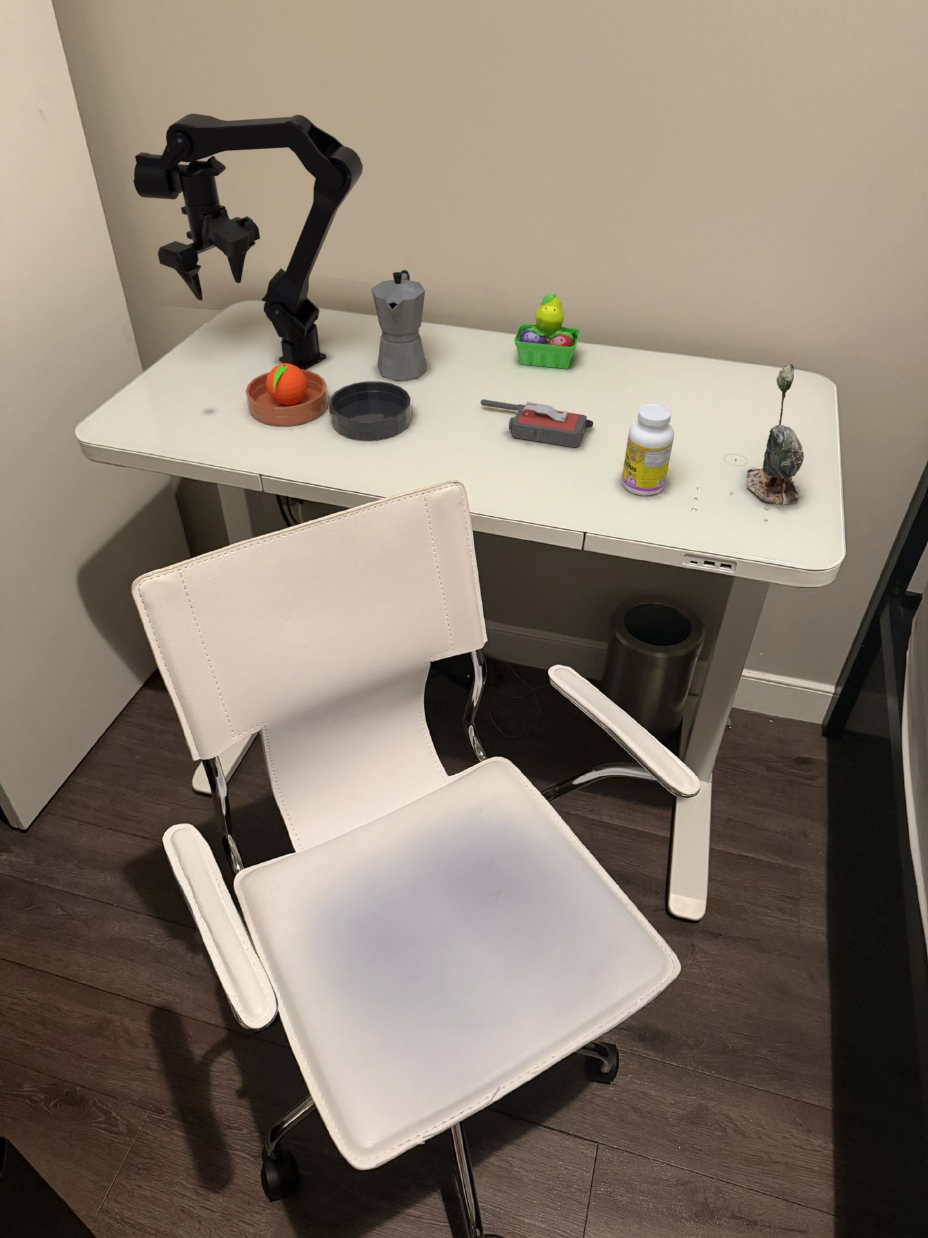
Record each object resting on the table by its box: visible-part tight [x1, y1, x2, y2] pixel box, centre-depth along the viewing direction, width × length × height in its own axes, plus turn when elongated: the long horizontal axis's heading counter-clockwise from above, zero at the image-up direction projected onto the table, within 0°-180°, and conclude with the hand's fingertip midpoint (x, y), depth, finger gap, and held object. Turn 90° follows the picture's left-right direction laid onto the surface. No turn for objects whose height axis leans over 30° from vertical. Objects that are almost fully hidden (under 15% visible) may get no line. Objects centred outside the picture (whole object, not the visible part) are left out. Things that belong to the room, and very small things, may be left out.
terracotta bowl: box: [245, 369, 329, 427], centre depth 154 cm, size 14×14×4 cm
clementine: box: [266, 362, 307, 405], centre depth 152 cm, size 8×7×7 cm
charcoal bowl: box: [328, 380, 412, 442], centre depth 150 cm, size 14×14×4 cm
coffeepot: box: [371, 269, 428, 382], centre depth 159 cm, size 15×9×18 cm, turn 174°
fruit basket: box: [514, 293, 581, 370], centre depth 164 cm, size 11×9×11 cm
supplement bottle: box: [621, 403, 675, 496], centre depth 133 cm, size 7×7×13 cm
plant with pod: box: [746, 363, 805, 505], centre depth 129 cm, size 8×11×20 cm
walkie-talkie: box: [479, 399, 594, 448], centre depth 148 cm, size 9×4×20 cm
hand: (219, 290), depth 161 cm, fingers open, 9 cm apart
